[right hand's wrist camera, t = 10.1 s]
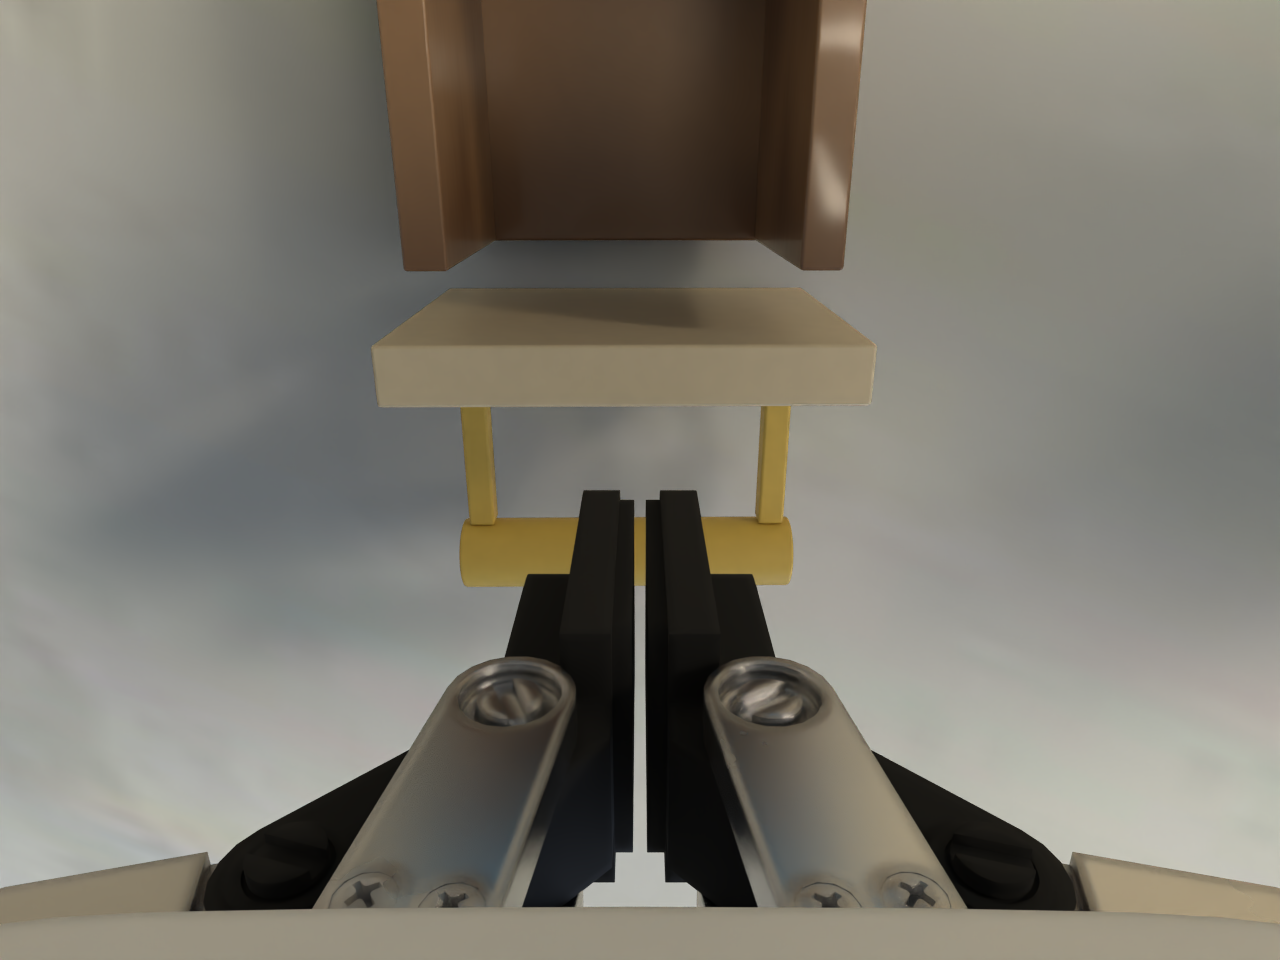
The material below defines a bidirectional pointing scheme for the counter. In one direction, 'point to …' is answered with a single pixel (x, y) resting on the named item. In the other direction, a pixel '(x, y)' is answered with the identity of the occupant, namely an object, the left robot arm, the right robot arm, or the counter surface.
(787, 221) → the drawer
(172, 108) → the counter surface
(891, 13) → the counter surface
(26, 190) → the counter surface
